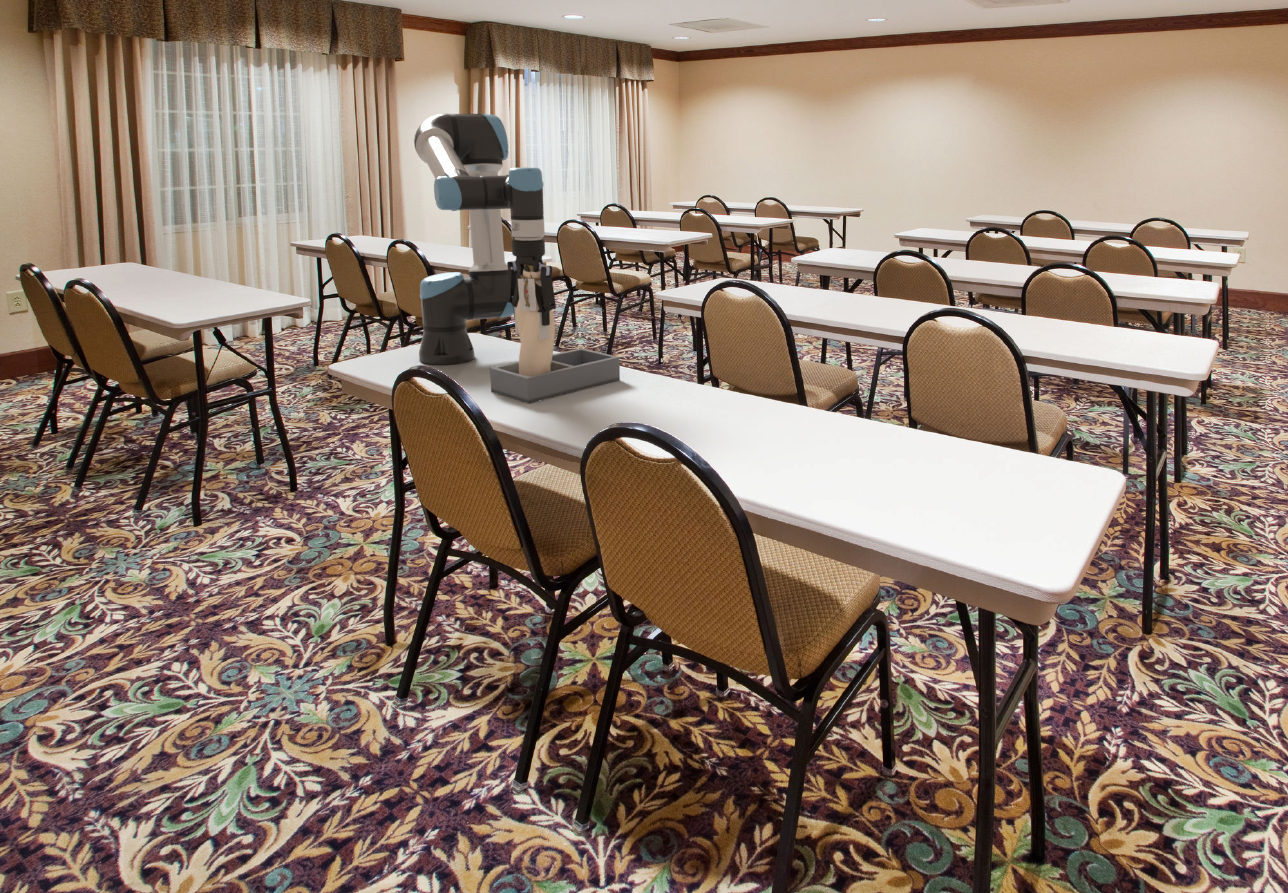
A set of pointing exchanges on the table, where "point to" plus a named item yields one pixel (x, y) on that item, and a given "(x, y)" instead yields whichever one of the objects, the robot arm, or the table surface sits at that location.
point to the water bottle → (532, 328)
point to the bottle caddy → (556, 376)
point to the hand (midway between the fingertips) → (532, 336)
